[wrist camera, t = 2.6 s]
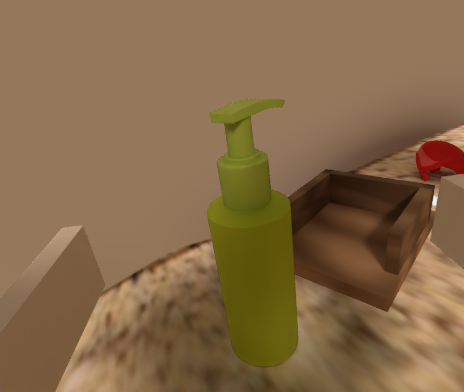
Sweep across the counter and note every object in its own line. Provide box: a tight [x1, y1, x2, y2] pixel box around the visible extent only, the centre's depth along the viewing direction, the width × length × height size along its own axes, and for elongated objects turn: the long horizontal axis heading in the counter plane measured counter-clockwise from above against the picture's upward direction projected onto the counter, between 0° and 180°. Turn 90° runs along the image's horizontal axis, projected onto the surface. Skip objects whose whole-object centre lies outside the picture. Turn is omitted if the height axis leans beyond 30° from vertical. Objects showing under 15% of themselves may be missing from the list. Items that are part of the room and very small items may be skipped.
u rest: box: [288, 169, 435, 312], centre depth 37 cm, size 18×14×6 cm
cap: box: [416, 140, 464, 181], centre depth 49 cm, size 8×6×6 cm
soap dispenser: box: [207, 99, 298, 367], centre depth 23 cm, size 6×7×20 cm
